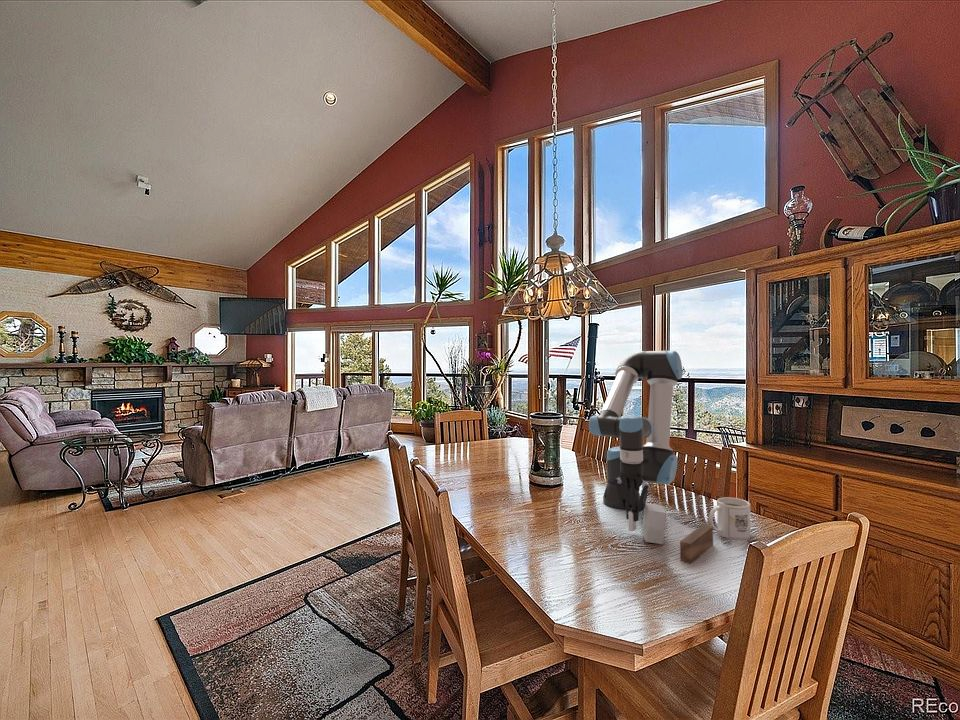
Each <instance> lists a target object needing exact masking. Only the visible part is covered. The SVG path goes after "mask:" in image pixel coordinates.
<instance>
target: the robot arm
mask: <svg viewBox="0 0 960 720" xmlns="http://www.w3.org/2000/svg"><path fill="white" fill-rule="evenodd" d="M682 364H683V363H682V360H681V356H680V355H679V353H678V351H675V350H639V351H637V352H633V353H632V354H629V355H628V356H627V357H625V358H624V359H623V360H622V361H621V362H620V363H619V364H618V366H617V368H616V370H615V378H614V381H613V383H612V386H611V387H610V390H609V392H608V394H607V396H606V399H605V402H604V404H603V406H602V408H601V410H600V412H599V414H594V415H592V416H590V417H589V421H588V429H589V432H590V434H591V435H592V436H593V435H594V436H599V437H610V438H611V437H612V438H619V446H613V447H611V448H609V449H608V450H607V451H606V478H607V479H606V480H607V481H606V482H607V483H606V487H605V489H604V492H603V495H602V501H603V502H602V503H604V504H605V506H607V507H611V508H614V509H620V510H625V513H626V520H628V531H630V532H634V531H636V530H637V529H638V528H637V527H638V526H637V524H638V523H637V522H638V521H639V519H640V515H639V514H640V513H641V512H642V511H643V512H644V508H645V503H647V498H648V493H649V491H650V489H651V488H652V484H650V483H653V484H658V485H671V483H673V481H674V479H675V477H676V475H677V469H678V456H677V455H676V454H674V450H673V448H672V447H671V446H670V439H671V438H670V436H671V425H672V424H671V423H672V408H673V407H672V404H673V389H674V387H675V386H676V385H677V384H678V380H681V379H682V378H683V365H682ZM639 379H646V382H647V383H648V384H649V386H650V388H649V389H650V390H649V401H648V416H647V417H644V416H640V415H632V414H631V415H627V414H626V415H622V414H623V411H624V408H625V406H626V404H627V401H628V400H629V396H630V394H631V391H632V389H633V386H634V384H636V383H637V382H638V381H639ZM645 439H646V441H645V442H646V443H644V440H645ZM640 488H641V489H640ZM640 490H641V491H640Z"/></svg>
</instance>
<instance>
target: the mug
mask: <svg viewBox="0 0 960 720" xmlns="http://www.w3.org/2000/svg"><path fill="white" fill-rule="evenodd" d="M715 513H717V515H716V521H717V522H716V523H717V527H716V526H715V524H714V515H715ZM708 523H709V526H713V530H715V531H716V532H717V534H719V535H720V536H722V537H724V538H727V539H730V540H736V541H745V539H746V540H749V539H750V538H751V537H752V536H751V535H752V533H751V527H752V526H751V525H752V523H751V503H750V502H749V501H747V500H744V499H742V498H738V497H730V496H728V497H719V498H717V500H716V506H713V508H711V509H710V512H709V514H708Z"/></svg>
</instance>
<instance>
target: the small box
mask: <svg viewBox="0 0 960 720" xmlns="http://www.w3.org/2000/svg"><path fill="white" fill-rule="evenodd" d="M642 518H643V519H642V526H641V527H642V528H641V533H642V536H643V538H644V541H645V542H646V543H653V544H657V545H658V544H659V545H664V541H665V532H666V531H665V530H666V521H667V512H666V510H665V509H664V507H663V505H661V504H657V503H656V504H655V503H649V502H646V503H645V508H644V510H643V517H642Z"/></svg>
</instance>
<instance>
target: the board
mask: <svg viewBox="0 0 960 720" xmlns="http://www.w3.org/2000/svg"><path fill="white" fill-rule="evenodd" d="M713 545H714V529H713V526H711V525H710V524H709V525H708V524H704V523H702V524H701V525H700V526H698V527H697V528H695V529H694V530H693V531H692V532H690V533H689V534H687V535H686V536H685V537H684V538H682V539H681V540H680V541H679V552H680V553H679V556H680V559H679V560H680V562H682V563H685V564H687V565H688V564H689V565H692V564H693V563H694V562H695V561H696V560H698V559H699V558H700V557H701V556H702V555H703V554H704V553H706V552H707V551H708V550H709V549H710V548H711V547H713Z"/></svg>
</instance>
